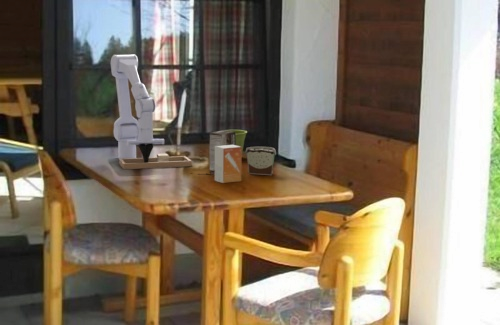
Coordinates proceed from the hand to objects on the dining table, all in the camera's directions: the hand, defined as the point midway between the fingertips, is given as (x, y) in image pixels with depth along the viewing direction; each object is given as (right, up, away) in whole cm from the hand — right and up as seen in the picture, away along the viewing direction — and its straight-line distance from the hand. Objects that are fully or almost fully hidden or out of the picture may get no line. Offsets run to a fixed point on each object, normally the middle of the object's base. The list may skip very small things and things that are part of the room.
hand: (146, 162), depth 356 cm
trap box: (+4, -2, +1) cm, 4 cm away
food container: (+46, -4, -7) cm, 47 cm away
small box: (+33, -7, -23) cm, 41 cm away
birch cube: (+6, -1, +2) cm, 7 cm away
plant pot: (+34, +2, +27) cm, 44 cm away
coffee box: (+31, -4, -7) cm, 32 cm away
